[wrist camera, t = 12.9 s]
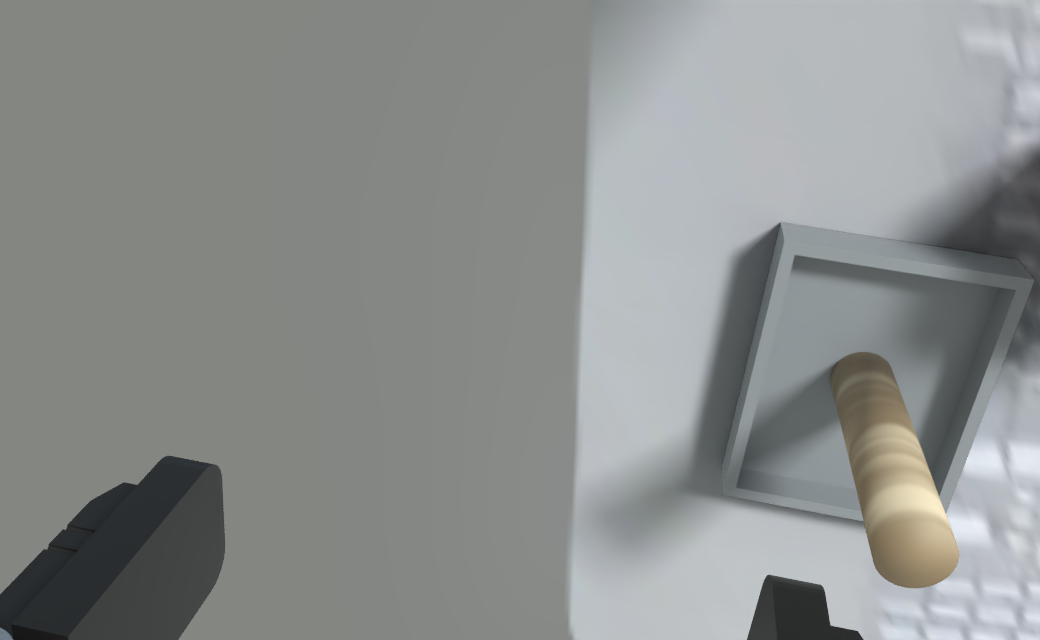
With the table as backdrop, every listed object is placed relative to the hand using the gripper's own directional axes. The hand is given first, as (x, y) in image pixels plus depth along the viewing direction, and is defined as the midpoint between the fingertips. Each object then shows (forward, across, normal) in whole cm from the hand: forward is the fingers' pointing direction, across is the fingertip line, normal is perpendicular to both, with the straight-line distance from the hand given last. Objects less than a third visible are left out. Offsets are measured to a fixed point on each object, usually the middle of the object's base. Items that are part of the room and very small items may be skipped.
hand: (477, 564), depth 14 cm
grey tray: (+34, -14, +13) cm, 39 cm away
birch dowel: (+34, -14, +13) cm, 38 cm away
